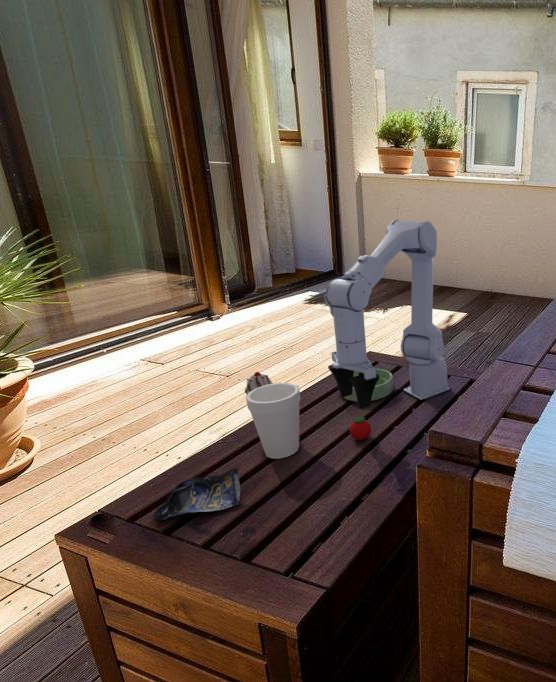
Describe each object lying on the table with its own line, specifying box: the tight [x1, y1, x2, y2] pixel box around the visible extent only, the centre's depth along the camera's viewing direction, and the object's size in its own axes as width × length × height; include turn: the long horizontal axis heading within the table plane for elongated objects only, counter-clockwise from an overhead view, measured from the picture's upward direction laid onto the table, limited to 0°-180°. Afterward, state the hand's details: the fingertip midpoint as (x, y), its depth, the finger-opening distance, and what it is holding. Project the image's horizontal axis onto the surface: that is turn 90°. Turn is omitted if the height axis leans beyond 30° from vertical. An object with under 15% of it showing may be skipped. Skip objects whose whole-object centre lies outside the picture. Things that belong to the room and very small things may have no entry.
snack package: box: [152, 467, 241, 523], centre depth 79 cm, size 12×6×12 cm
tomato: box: [349, 416, 372, 441], centre depth 101 cm, size 4×4×5 cm
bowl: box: [343, 368, 395, 402], centre depth 123 cm, size 13×13×4 cm
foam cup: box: [245, 382, 301, 460], centre depth 94 cm, size 10×9×13 cm
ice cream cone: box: [244, 371, 274, 395], centre depth 100 cm, size 6×6×15 cm
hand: (355, 401), depth 98 cm, fingers open, 7 cm apart
